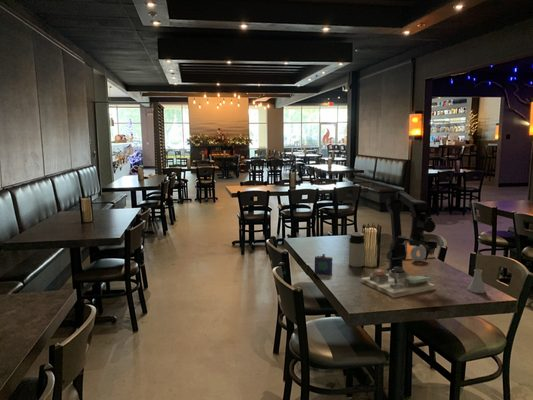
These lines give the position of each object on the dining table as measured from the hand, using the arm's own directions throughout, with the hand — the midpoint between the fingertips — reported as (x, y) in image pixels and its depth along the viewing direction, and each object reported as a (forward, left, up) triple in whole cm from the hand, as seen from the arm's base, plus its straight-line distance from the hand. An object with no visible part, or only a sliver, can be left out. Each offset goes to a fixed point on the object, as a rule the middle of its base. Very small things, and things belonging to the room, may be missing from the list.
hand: (415, 258), depth 204 cm
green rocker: (+5, -5, -8) cm, 11 cm away
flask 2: (+21, +17, -12) cm, 30 cm away
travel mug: (-36, -8, -12) cm, 39 cm away
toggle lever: (+5, -17, -9) cm, 20 cm away
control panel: (-1, -11, -12) cm, 16 cm away
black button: (-7, -5, -8) cm, 11 cm away
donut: (-27, +29, -12) cm, 42 cm away
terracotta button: (-7, -17, -8) cm, 20 cm away
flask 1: (-31, -33, -12) cm, 47 cm away
